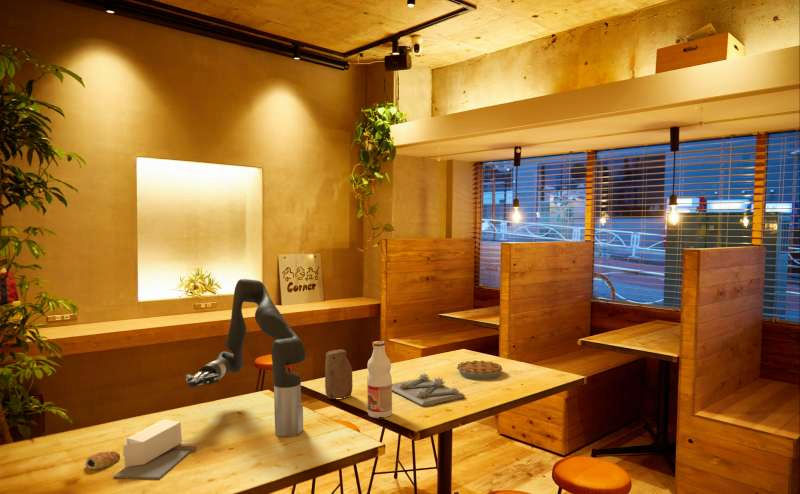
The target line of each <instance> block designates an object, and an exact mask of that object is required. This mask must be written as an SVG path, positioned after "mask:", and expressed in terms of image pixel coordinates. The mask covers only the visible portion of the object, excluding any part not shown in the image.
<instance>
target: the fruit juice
mask: <svg viewBox="0 0 800 494" xmlns="http://www.w3.org/2000/svg"><path fill="white" fill-rule="evenodd" d="M372 347H373V350H372V354H371V357H370V358H369V359H368V361H367V366H366V367H367V371H368V375H367V379H366V380H367V381H366V382H367V383H366V386H367V389H366V390H367V393H366V394H367V414H368V416H369V417H371V418H374V419H380V418H379V417H385V418H388V417H387V416H389V417H391V415H392V414H393V391H392V384H393V382H392V380H393V379H392V374H391V370H392V361H391V359H389V357H388V356H387V353H386V350H385V349H386V348H385V347H386V342H385V341H384V340H382V341H381V340H376V341H372Z"/></svg>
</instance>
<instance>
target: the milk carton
mask: <svg viewBox="0 0 800 494" xmlns="http://www.w3.org/2000/svg"><path fill="white" fill-rule="evenodd" d="M181 427H182V425H181V421H176V420H171V419H168V418H167V419H166V418H163V419H161V420H160V421H158V422H155V423H154V424H152V425H150V426H148V427H146V428H144V429H142V430H140V431H137V432H136V433H134V434H132V435H130V436H128V437H127V438H125V439H126V441H125V442H126V444H124V445H122V448H123V449H122V456H123V460H124V461H123V462H124V468H127V467H130V466H136V465H143V464H146V463H147V462H149V461H151V460H153V459H154V458H156V457H158V456H160V455H161V454H163V453H165V452H166V451H168V450H170V449H172V448H173V447H175V446H177V445H179V444H183V441H182V439H183V437H182V428H181Z"/></svg>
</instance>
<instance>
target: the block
mask: <svg viewBox="0 0 800 494" xmlns="http://www.w3.org/2000/svg"><path fill="white" fill-rule="evenodd" d="M347 354H348V353H347V351H346V350H345V349H333V350H328V351H326V353H325V362H324V363H325V367H324V368H325V370H324V373H325V374H324V377H325V378H324V389H325V390H324V391H325V395H326V397H327V398H328V399H329V400H331V399H336V398H344V397H347V398H349V397H351V396H352V392H353V367H352V365H351V363H350V361H349V359H348V358H347ZM348 396H349V397H348ZM330 398H331V399H330ZM344 399H345V398H344Z"/></svg>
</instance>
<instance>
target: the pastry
mask: <svg viewBox="0 0 800 494" xmlns="http://www.w3.org/2000/svg"><path fill="white" fill-rule="evenodd" d="M120 459H121V454H120V453H119V452H118V451H103V452H97V453H96V454H91V456H88V457H87V459H86V461H85V466H86V468H87V469H89V470H90V469H91V470H94V471H95V470H96V471H99V470H102V469H104V468H106V467H110V466H112V465H114V464H116V463H117V462H118V461H119V460H120ZM115 462H116V463H115Z"/></svg>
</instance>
